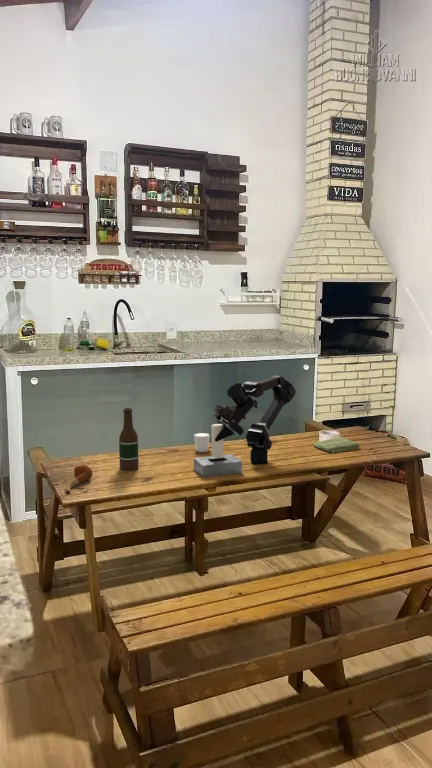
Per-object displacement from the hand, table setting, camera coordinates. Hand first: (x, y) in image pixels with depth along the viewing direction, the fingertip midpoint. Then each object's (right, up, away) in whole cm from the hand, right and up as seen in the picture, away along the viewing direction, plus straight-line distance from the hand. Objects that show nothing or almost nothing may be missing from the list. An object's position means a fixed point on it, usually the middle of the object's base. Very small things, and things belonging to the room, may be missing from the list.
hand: (214, 440), depth 250 cm
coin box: (+1, -12, +3) cm, 13 cm away
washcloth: (+54, -7, +36) cm, 65 cm away
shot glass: (-5, -7, +32) cm, 33 cm away
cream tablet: (+1, -6, +2) cm, 7 cm away
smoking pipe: (-49, -16, -13) cm, 53 cm away
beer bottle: (-34, -12, +7) cm, 36 cm away
